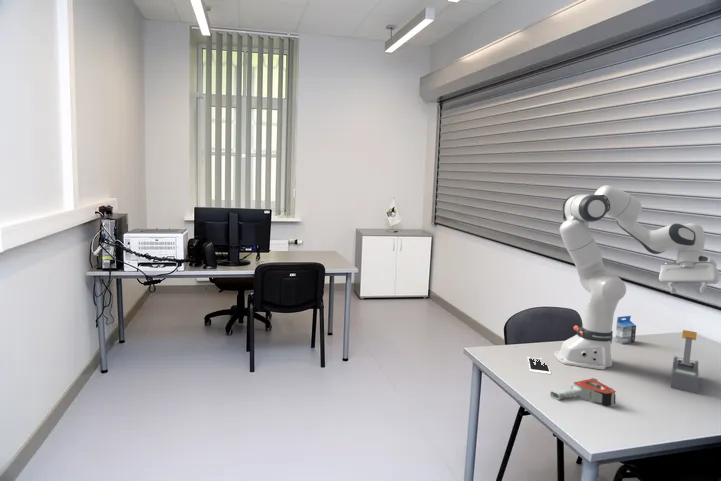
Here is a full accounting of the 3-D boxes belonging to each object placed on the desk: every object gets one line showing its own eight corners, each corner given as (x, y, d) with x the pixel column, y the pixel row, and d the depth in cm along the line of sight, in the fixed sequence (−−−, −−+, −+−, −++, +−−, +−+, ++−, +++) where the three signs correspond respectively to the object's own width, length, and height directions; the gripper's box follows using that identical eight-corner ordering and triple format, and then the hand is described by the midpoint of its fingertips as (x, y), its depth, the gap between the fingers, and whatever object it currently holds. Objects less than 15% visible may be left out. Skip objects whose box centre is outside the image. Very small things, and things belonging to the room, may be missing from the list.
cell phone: (529, 372, 186) (530, 371, 186) (527, 358, 201) (527, 356, 201) (551, 375, 184) (551, 373, 184) (546, 360, 199) (546, 359, 199)
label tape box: (621, 344, 223) (624, 319, 222) (614, 341, 227) (617, 316, 225) (634, 342, 226) (637, 317, 225) (627, 339, 230) (630, 315, 228)
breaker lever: (677, 365, 183) (681, 331, 187) (693, 368, 180) (697, 334, 184) (678, 364, 181) (682, 329, 185) (693, 367, 178) (697, 332, 182)
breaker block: (671, 370, 192) (674, 349, 191) (695, 376, 188) (698, 354, 187) (670, 387, 176) (673, 364, 175) (696, 393, 172) (699, 370, 170)
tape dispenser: (548, 403, 163) (614, 417, 153) (549, 388, 163) (614, 401, 152) (558, 383, 178) (618, 394, 167) (558, 370, 177) (618, 380, 167)
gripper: (658, 259, 199) (654, 290, 195) (715, 257, 183) (713, 290, 179) (664, 265, 202) (660, 295, 198) (721, 264, 186) (719, 296, 182)
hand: (686, 293), depth 188 cm, fingers open, 8 cm apart
